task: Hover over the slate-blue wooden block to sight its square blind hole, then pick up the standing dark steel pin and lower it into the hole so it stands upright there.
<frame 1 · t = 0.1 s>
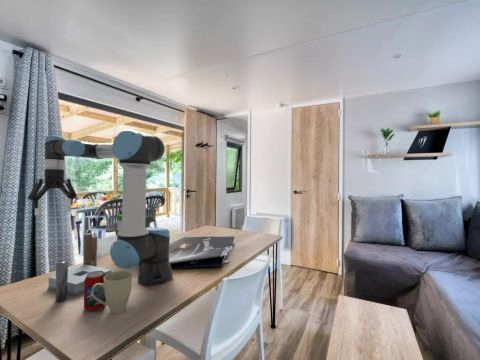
hand: (53, 213, 115), 28 cm above the table, fingers open, 13 cm apart
mug: (114, 311, 84), on the table
pin: (61, 299, 90), on the table
beverage can: (95, 307, 86), on the table
hardback book: (131, 258, 138), on the table
bore block: (81, 283, 104), on the table
wooden block: (89, 268, 121), on the table
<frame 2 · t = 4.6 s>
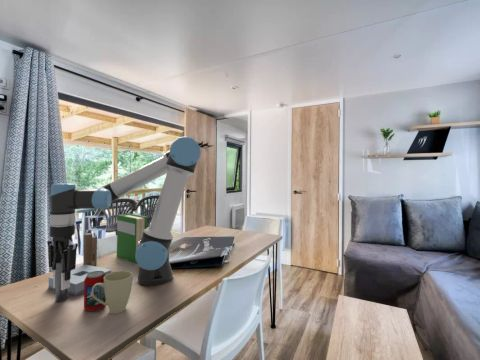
hand: (61, 287, 90), 5 cm above the table, fingers closed on pin, 3 cm apart
pin: (61, 299, 90), on the table, touching gripper
everything else where it was.
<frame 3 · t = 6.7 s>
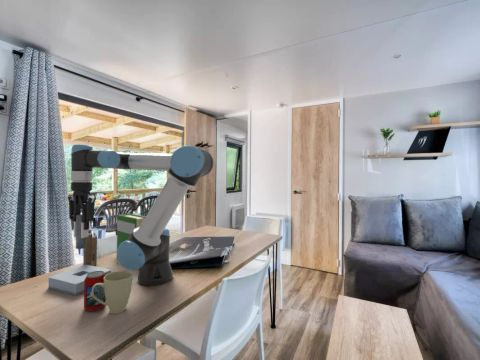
hand: (81, 236, 103), 20 cm above the table, fingers closed on pin, 3 cm apart
pin: (80, 247, 103), point 16 cm above the table, touching gripper
everything else where it was.
when the fingers open (7 cm above the table, at t = 9.0 s): pin stays where it is, resting on bore block.
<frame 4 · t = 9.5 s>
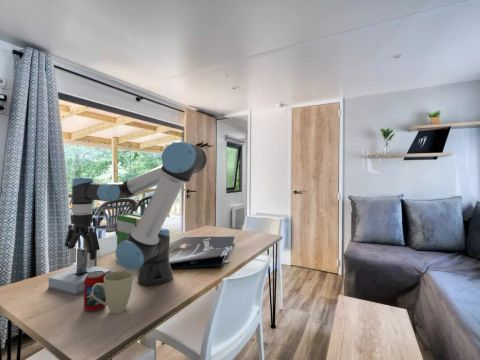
hand: (81, 265, 104), 8 cm above the table, fingers open, 10 cm apart
pin: (81, 281, 104), point 1 cm above the table, touching bore block
everything else where it was.
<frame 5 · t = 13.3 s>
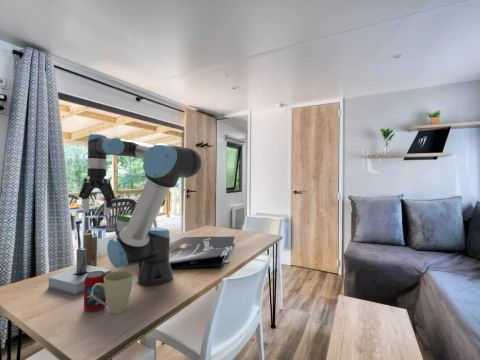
hand: (96, 213, 113), 29 cm above the table, fingers open, 13 cm apart
nothing on the table moved.
at the end: pin 0.1 cm off-centre on the bore block, point 1.0 cm above the bore block's base; pin tilted 1°; the gripper is holding nothing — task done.
